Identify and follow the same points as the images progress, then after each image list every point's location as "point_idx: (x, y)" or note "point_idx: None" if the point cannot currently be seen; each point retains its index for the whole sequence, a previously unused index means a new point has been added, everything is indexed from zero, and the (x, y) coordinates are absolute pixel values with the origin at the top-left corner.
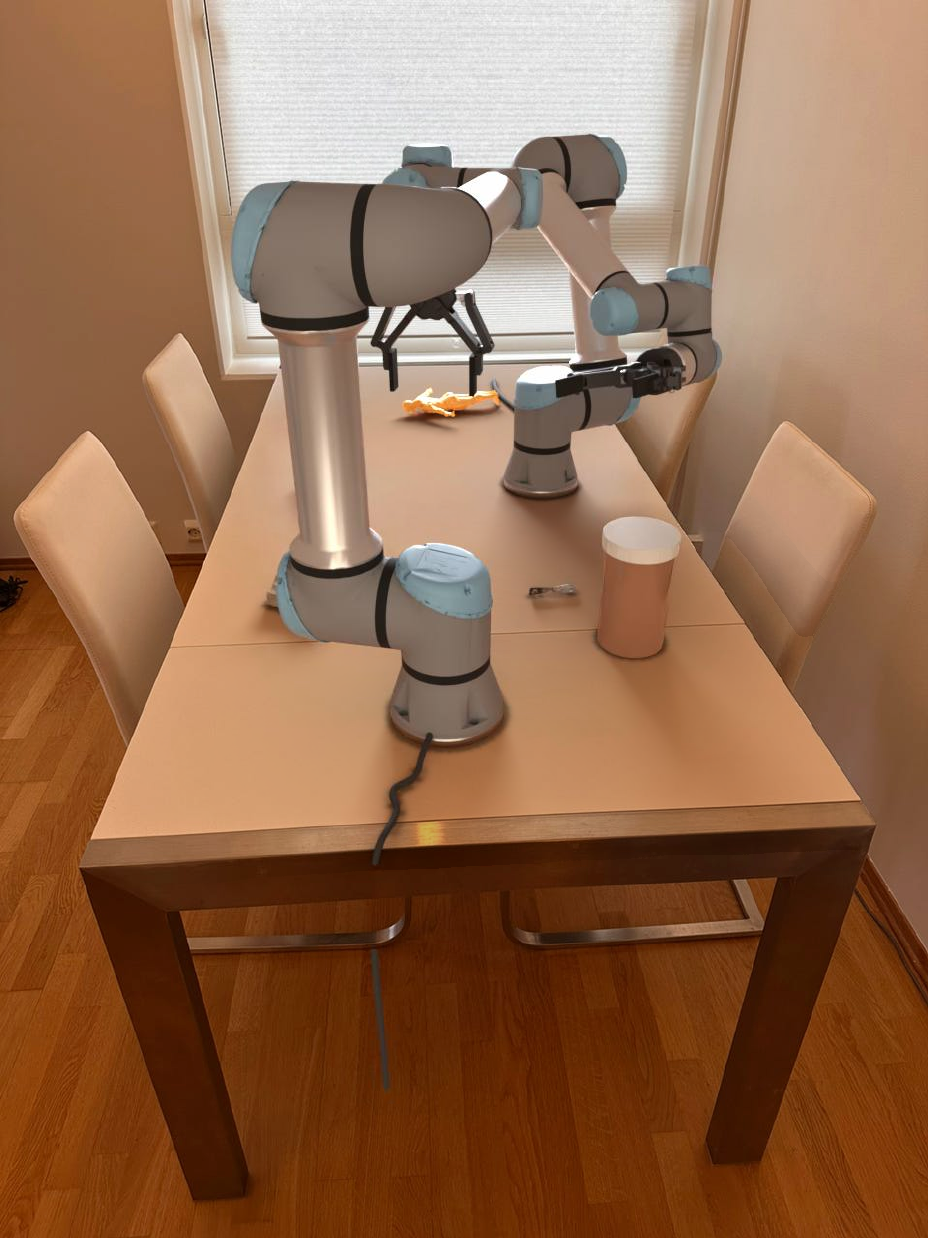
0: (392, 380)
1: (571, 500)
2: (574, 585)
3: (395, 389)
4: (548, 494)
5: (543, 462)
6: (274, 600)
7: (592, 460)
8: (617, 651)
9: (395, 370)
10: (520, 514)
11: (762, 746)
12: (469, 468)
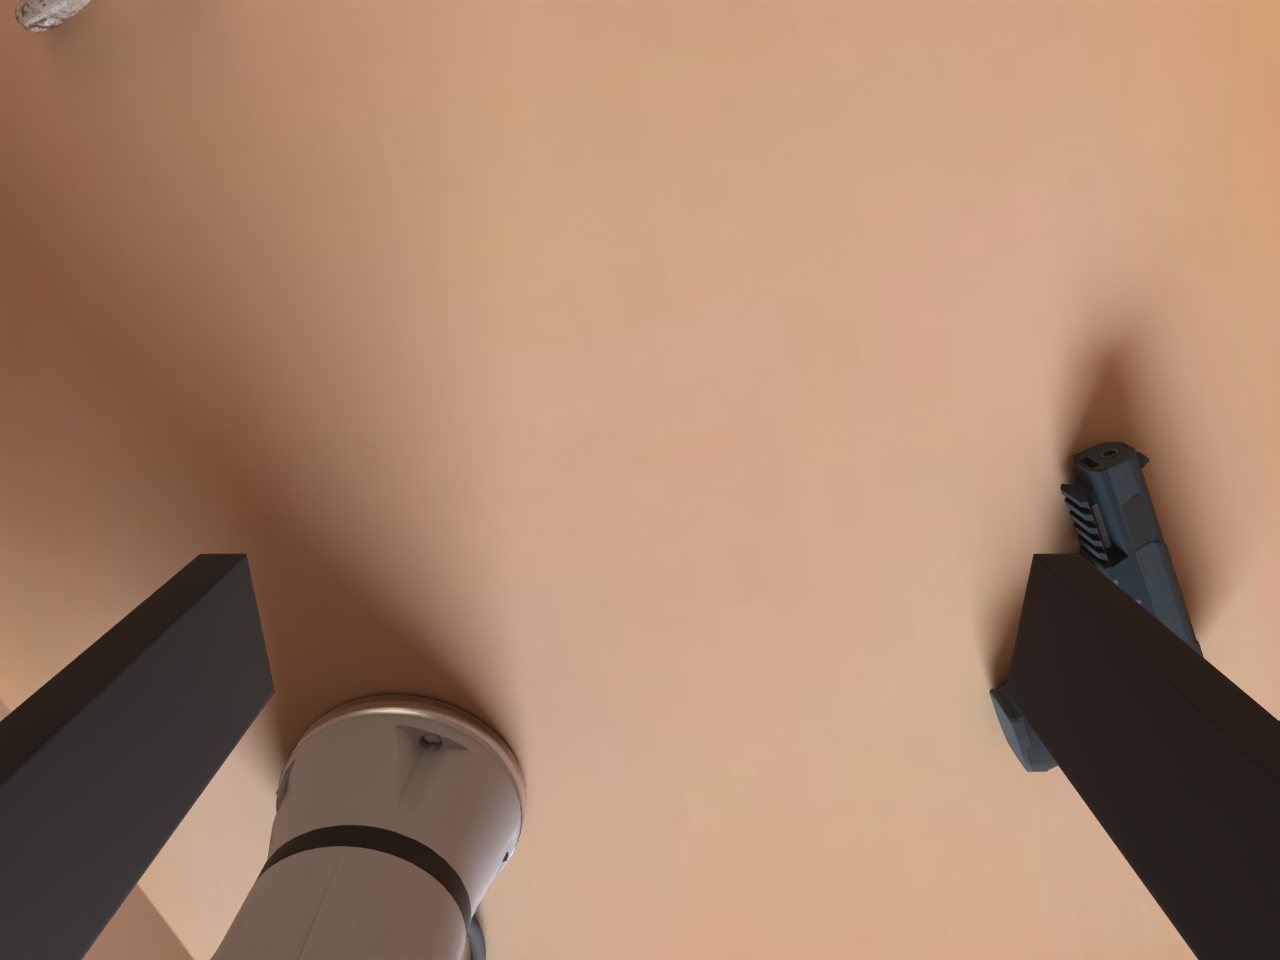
0: (1111, 614)
1: (280, 701)
2: (17, 15)
3: (1027, 602)
4: (348, 708)
5: (338, 802)
6: None
7: None
8: None
9: (1130, 756)
10: (411, 580)
11: None
12: (657, 850)
